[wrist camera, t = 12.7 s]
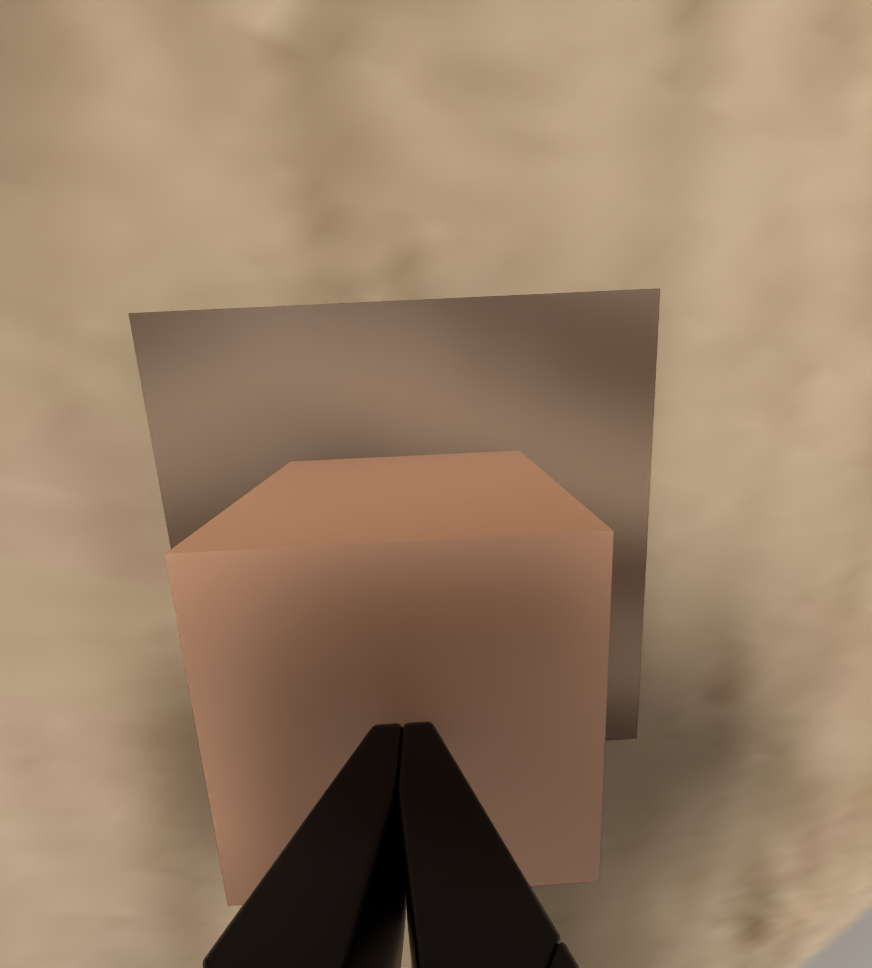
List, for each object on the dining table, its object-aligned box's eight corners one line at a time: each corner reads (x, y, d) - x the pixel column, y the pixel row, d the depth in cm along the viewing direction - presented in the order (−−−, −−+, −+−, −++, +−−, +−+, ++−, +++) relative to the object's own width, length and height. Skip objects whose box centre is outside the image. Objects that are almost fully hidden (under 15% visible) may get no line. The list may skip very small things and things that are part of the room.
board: (624, 717, 18) (636, 738, 17) (221, 743, 17) (210, 765, 16) (643, 294, 14) (660, 288, 13) (149, 317, 14) (128, 313, 13)
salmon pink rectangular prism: (520, 654, 15) (599, 882, 8) (313, 665, 14) (227, 906, 8) (519, 450, 13) (613, 530, 7) (290, 461, 13) (165, 554, 7)
